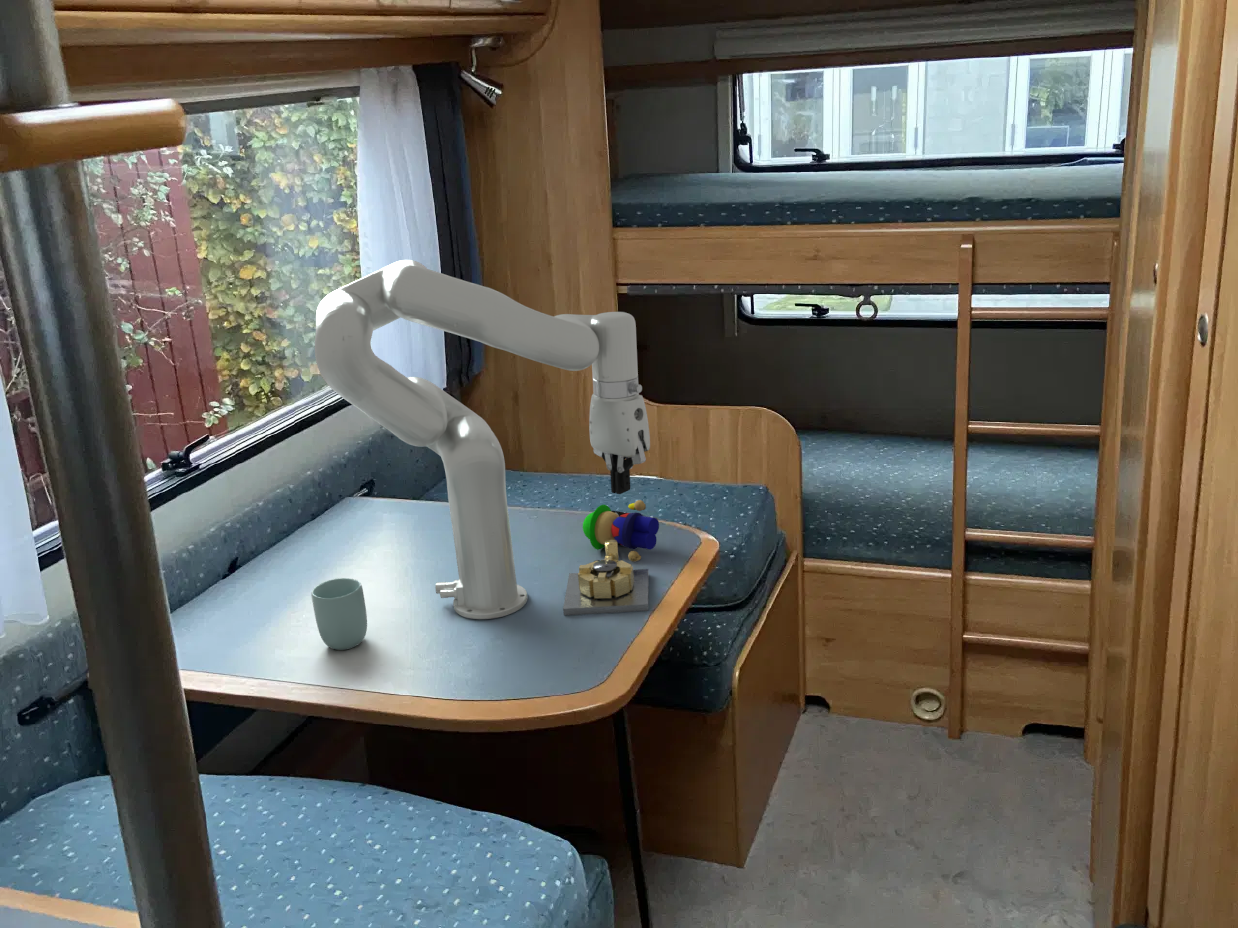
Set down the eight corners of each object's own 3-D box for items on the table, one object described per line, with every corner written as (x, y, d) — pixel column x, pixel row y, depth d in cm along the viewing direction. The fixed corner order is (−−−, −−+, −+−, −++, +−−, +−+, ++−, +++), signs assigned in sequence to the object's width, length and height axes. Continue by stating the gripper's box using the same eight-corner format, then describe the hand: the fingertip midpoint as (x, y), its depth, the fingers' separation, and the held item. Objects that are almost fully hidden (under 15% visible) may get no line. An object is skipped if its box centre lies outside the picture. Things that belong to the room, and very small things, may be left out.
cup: (346, 659, 177) (336, 602, 173) (311, 650, 181) (300, 593, 177) (380, 638, 183) (371, 582, 180) (345, 629, 187) (336, 574, 184)
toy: (673, 509, 209) (603, 499, 217) (654, 495, 202) (583, 485, 209) (658, 570, 207) (588, 558, 214) (638, 559, 199) (567, 546, 207)
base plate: (563, 615, 186) (560, 584, 184) (570, 578, 199) (567, 549, 198) (648, 610, 185) (645, 579, 183) (648, 573, 199) (646, 544, 197)
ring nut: (629, 597, 186) (627, 570, 185) (576, 598, 188) (573, 571, 186) (639, 565, 199) (637, 539, 197) (589, 565, 200) (586, 540, 198)
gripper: (665, 388, 184) (668, 493, 190) (597, 377, 194) (602, 477, 200) (635, 398, 179) (640, 506, 185) (567, 386, 188) (574, 489, 194)
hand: (620, 491), depth 192 cm, fingers closed
